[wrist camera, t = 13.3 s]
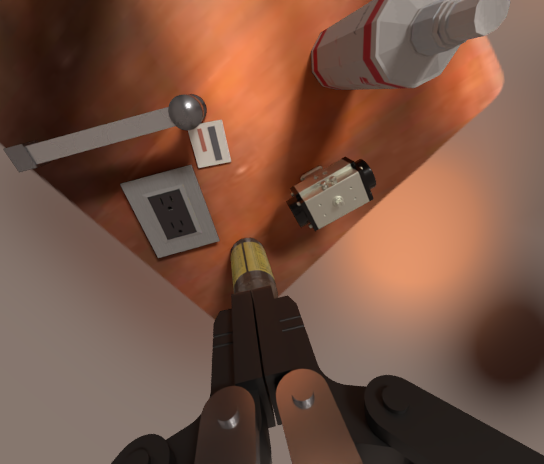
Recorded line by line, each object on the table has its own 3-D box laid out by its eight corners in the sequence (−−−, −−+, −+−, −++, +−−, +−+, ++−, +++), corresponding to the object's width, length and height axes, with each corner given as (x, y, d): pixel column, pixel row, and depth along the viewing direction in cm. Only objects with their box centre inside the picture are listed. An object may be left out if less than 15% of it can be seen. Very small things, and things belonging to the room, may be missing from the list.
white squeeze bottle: (356, 13, 36) (561, -110, 14) (370, 73, 40) (552, 48, 18) (302, 42, 37) (419, -33, 15) (321, 98, 40) (438, 105, 18)
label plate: (186, 125, 39) (186, 126, 39) (221, 119, 39) (221, 119, 39) (198, 167, 42) (198, 168, 41) (231, 161, 42) (231, 161, 42)
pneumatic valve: (350, 172, 46) (388, 196, 36) (289, 207, 47) (308, 240, 37) (338, 143, 44) (375, 159, 33) (273, 180, 45) (289, 207, 34)
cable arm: (197, 91, 32) (195, 90, 30) (208, 123, 34) (206, 125, 31) (17, 140, 32) (-1, 144, 29) (37, 170, 33) (21, 176, 31)
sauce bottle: (236, 270, 51) (243, 362, 34) (225, 242, 48) (226, 327, 31) (269, 259, 51) (293, 345, 34) (260, 231, 48) (281, 309, 31)
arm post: (176, 96, 37) (169, 97, 32) (202, 92, 38) (199, 92, 33) (184, 124, 39) (178, 129, 34) (209, 120, 39) (207, 124, 34)
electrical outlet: (219, 235, 48) (219, 241, 46) (160, 251, 48) (157, 259, 46) (192, 161, 42) (190, 165, 40) (124, 180, 42) (119, 184, 39)
